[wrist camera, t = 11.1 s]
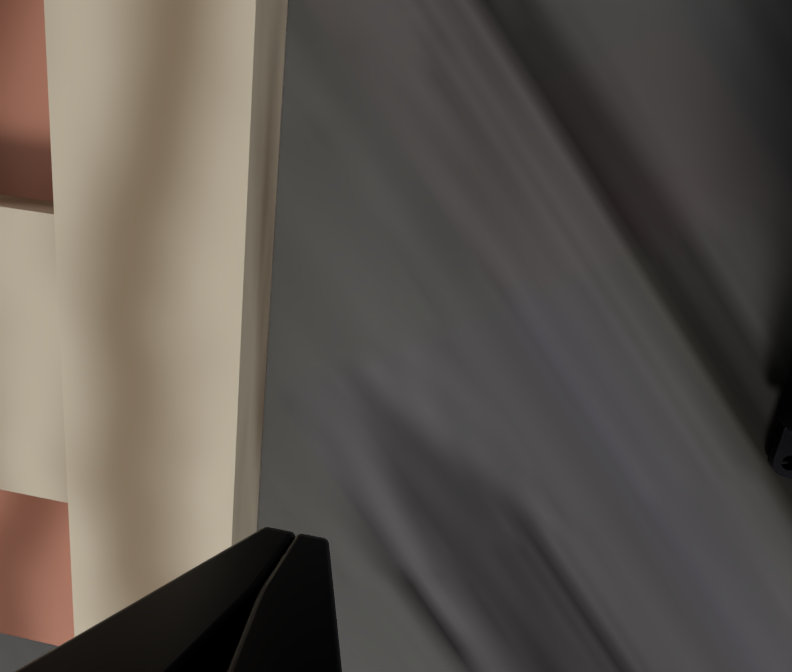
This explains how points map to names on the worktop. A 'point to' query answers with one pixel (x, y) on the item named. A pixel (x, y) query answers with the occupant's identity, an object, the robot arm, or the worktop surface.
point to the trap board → (131, 294)
